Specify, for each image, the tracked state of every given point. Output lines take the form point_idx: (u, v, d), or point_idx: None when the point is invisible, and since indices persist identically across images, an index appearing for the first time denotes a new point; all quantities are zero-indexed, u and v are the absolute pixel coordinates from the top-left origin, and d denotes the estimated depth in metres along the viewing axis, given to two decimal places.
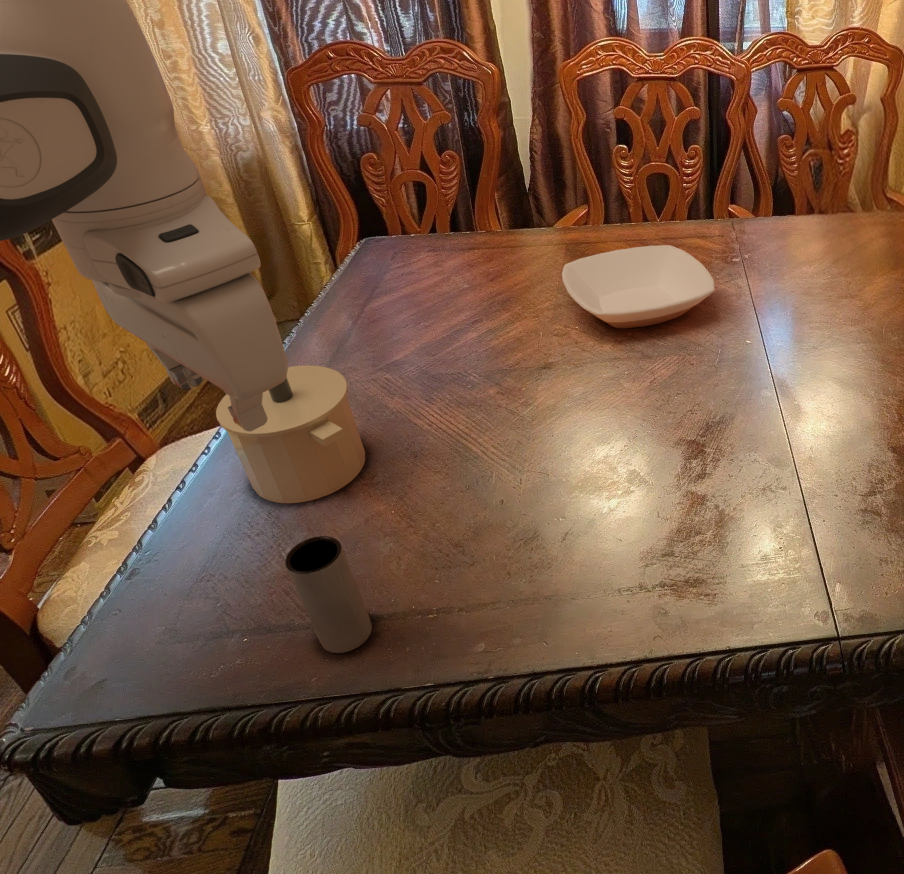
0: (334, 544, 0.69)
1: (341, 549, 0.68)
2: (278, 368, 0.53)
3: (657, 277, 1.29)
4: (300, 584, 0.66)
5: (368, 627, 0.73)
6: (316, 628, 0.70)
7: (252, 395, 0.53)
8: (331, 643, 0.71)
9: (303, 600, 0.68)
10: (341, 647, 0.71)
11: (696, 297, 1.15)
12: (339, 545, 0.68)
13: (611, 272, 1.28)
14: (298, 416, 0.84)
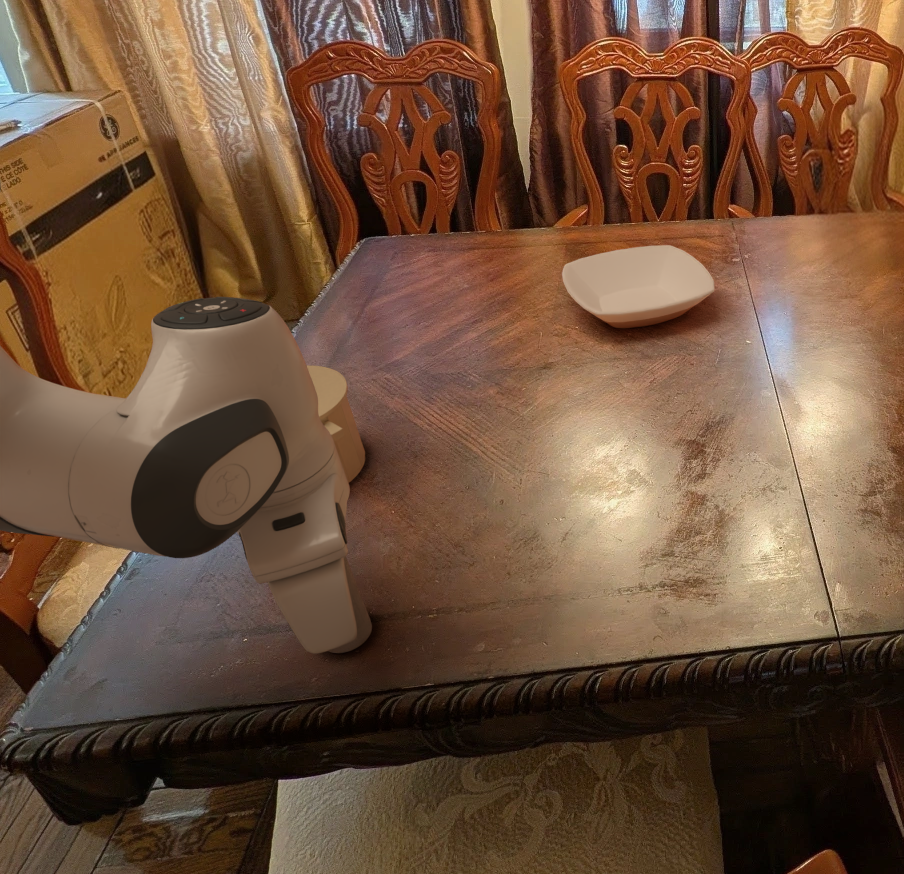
0: None
1: None
2: (345, 636, 0.61)
3: (657, 277, 1.29)
4: None
5: (368, 627, 0.73)
6: None
7: (321, 652, 0.61)
8: None
9: None
10: (341, 647, 0.71)
11: (696, 297, 1.15)
12: None
13: (611, 272, 1.28)
14: None
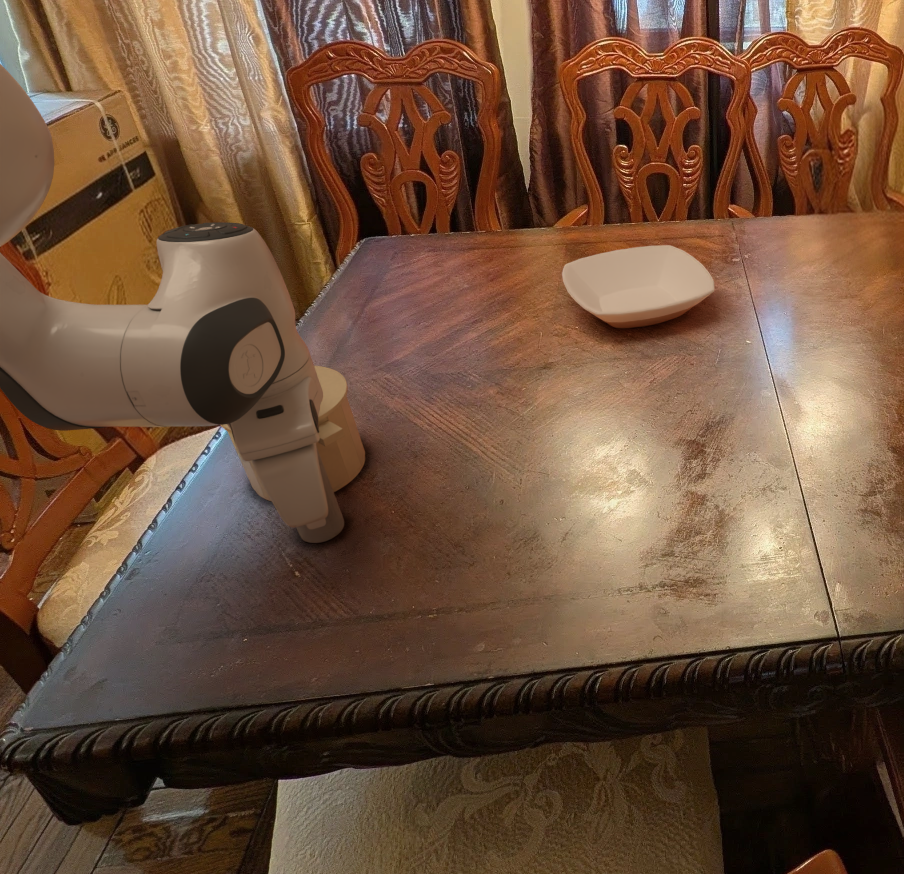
0: None
1: None
2: (318, 511, 0.72)
3: (657, 277, 1.29)
4: None
5: (341, 522, 0.84)
6: None
7: (297, 526, 0.73)
8: (308, 533, 0.82)
9: None
10: (317, 537, 0.83)
11: (696, 297, 1.15)
12: None
13: (611, 272, 1.28)
14: None
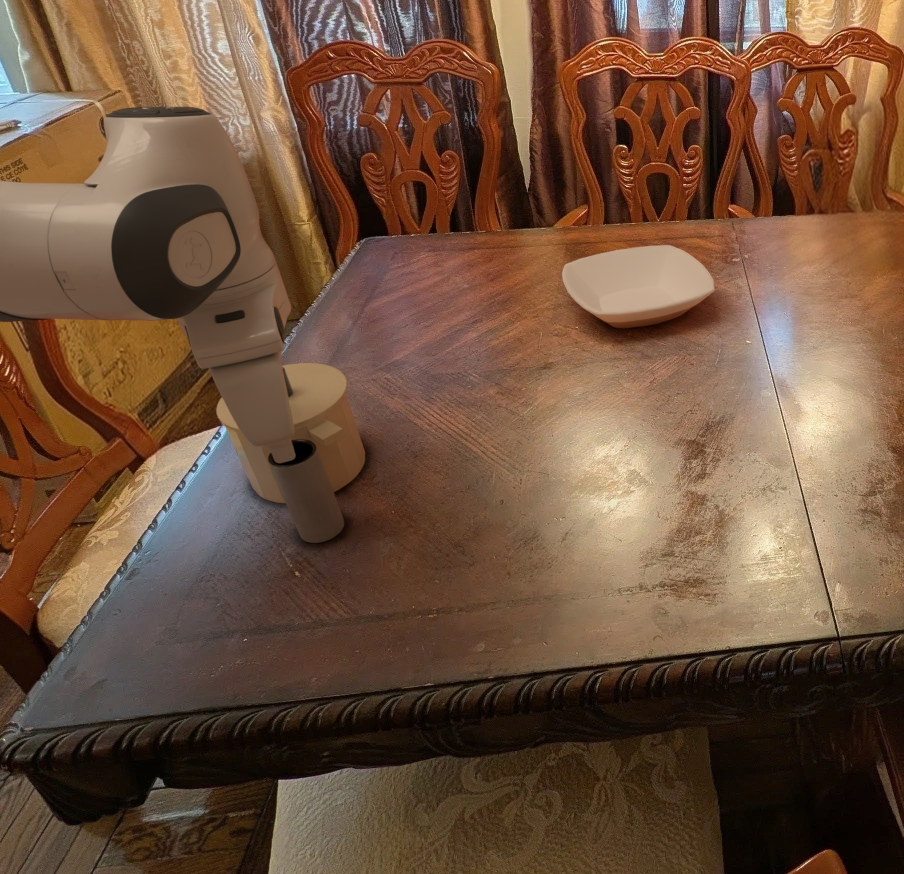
0: (310, 445, 0.80)
1: (315, 448, 0.79)
2: (282, 428, 0.67)
3: (657, 277, 1.29)
4: (280, 476, 0.78)
5: (341, 522, 0.84)
6: (295, 519, 0.82)
7: (260, 444, 0.67)
8: (308, 533, 0.82)
9: (283, 492, 0.80)
10: (317, 537, 0.83)
11: (696, 297, 1.15)
12: (314, 446, 0.80)
13: (611, 272, 1.28)
14: (299, 413, 0.85)
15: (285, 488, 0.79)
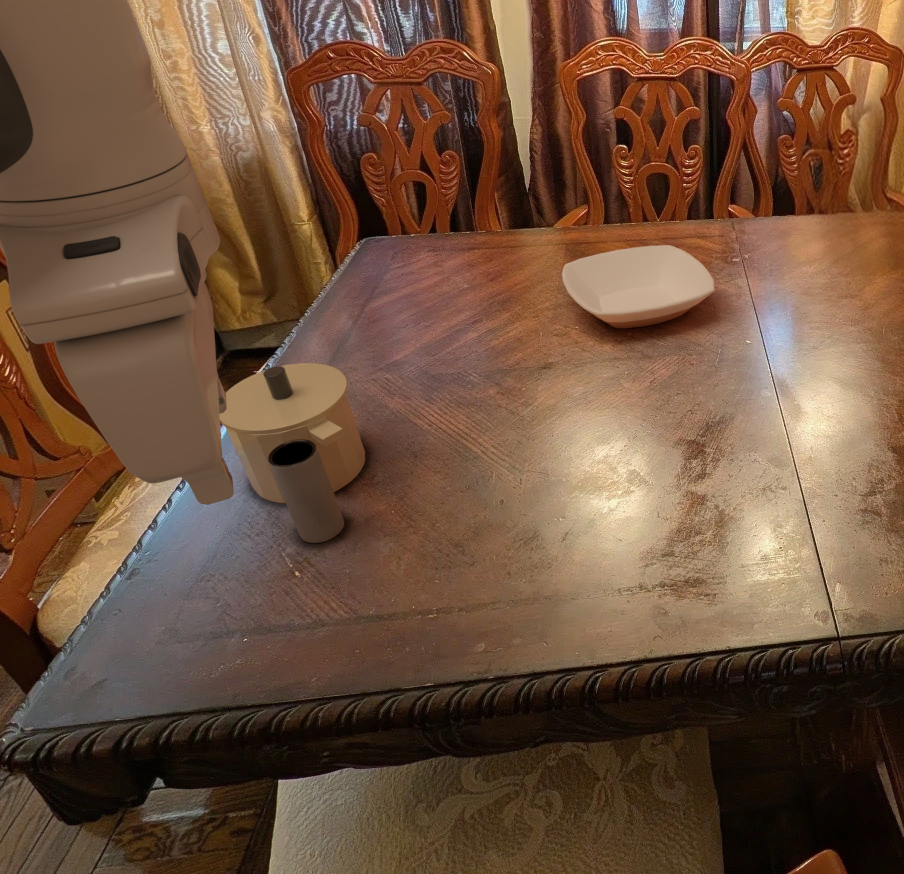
0: (310, 445, 0.80)
1: (315, 448, 0.79)
2: (198, 452, 0.37)
3: (657, 277, 1.29)
4: (280, 476, 0.78)
5: (341, 522, 0.84)
6: (295, 519, 0.82)
7: (159, 480, 0.38)
8: (308, 533, 0.82)
9: (283, 492, 0.80)
10: (317, 537, 0.83)
11: (696, 297, 1.15)
12: (314, 446, 0.80)
13: (611, 272, 1.28)
14: (299, 413, 0.85)
15: (285, 488, 0.79)
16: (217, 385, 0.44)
